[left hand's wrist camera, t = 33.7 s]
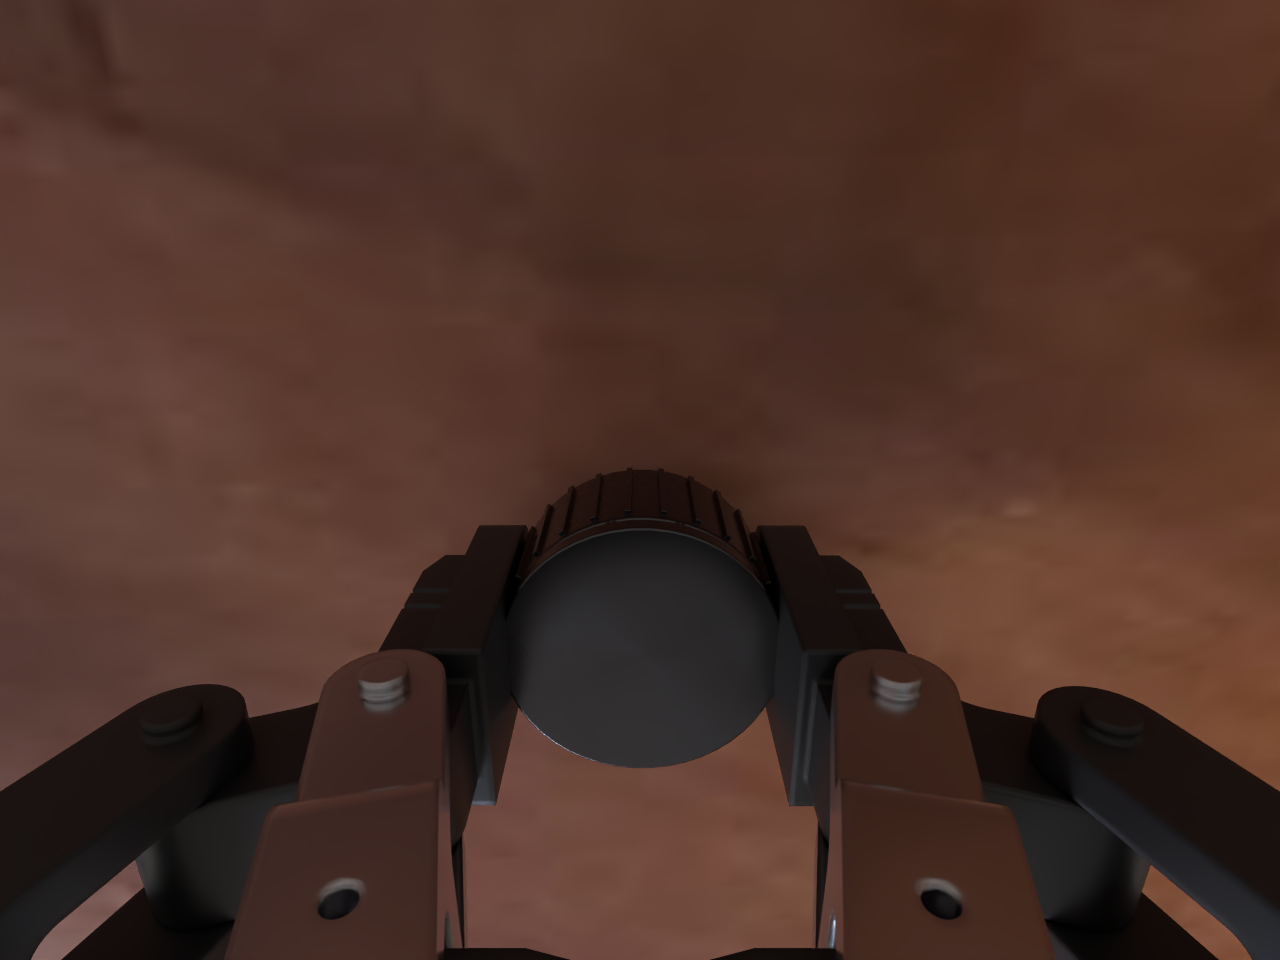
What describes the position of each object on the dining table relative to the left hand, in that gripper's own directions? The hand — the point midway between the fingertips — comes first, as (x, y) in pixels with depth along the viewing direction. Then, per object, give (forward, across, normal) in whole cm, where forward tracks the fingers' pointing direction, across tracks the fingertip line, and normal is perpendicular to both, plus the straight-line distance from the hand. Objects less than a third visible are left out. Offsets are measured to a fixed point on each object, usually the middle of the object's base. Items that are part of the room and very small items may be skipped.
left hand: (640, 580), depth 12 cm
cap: (-2, 0, 0) cm, 2 cm away
